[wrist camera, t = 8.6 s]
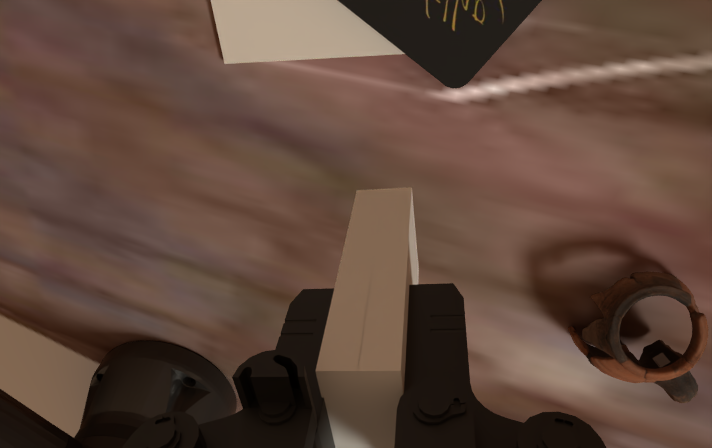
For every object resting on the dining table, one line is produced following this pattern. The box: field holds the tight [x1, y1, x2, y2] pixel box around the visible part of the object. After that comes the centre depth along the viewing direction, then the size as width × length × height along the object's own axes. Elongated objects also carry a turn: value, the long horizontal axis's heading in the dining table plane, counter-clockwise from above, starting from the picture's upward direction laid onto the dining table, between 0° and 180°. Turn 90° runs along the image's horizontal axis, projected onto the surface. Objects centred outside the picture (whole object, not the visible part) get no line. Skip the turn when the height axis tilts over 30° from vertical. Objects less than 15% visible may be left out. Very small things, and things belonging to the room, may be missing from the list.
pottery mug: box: [568, 272, 708, 403], centre depth 45 cm, size 12×10×8 cm
